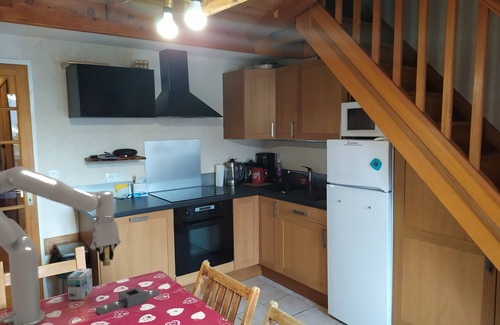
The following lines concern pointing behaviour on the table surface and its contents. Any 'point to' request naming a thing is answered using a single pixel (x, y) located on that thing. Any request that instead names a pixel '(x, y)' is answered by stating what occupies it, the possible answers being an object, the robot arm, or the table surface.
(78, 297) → the light bulb box
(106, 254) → the brass pin
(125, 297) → the grey slotted base plate
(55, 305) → the table surface
